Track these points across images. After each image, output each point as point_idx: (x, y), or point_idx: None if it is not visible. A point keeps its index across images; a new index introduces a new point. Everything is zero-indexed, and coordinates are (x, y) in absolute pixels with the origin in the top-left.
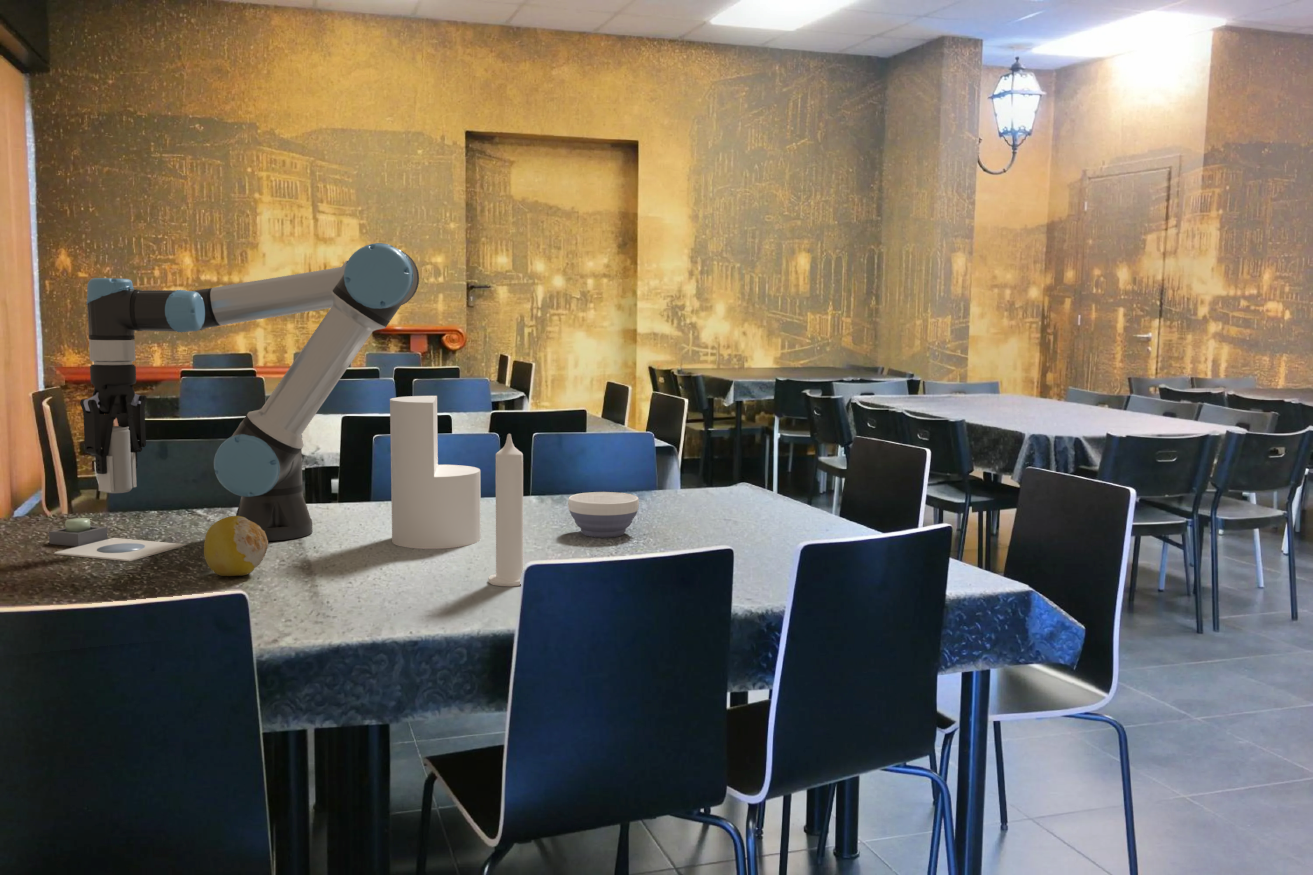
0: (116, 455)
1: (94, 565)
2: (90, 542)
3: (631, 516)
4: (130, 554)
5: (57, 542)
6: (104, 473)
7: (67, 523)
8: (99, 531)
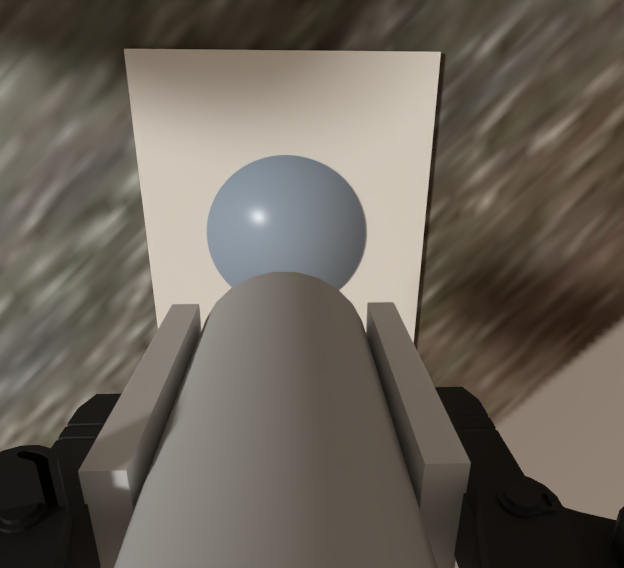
0: (384, 452)
1: (522, 130)
2: None
3: None
4: (361, 122)
5: None
6: (447, 389)
7: None
8: None
